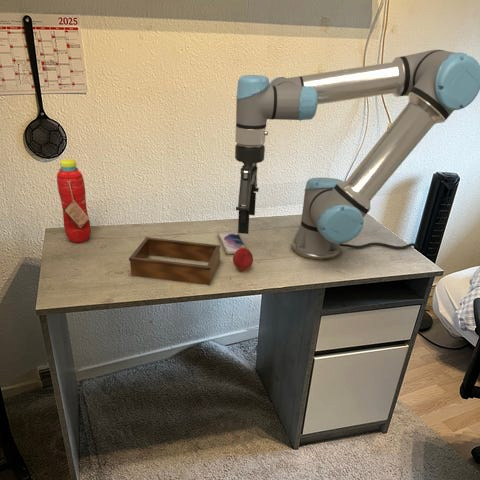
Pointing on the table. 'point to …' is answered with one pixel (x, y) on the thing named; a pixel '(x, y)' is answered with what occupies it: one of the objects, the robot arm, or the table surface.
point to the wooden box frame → (175, 269)
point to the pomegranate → (243, 258)
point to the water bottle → (73, 201)
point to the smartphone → (231, 242)
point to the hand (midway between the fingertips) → (246, 223)
